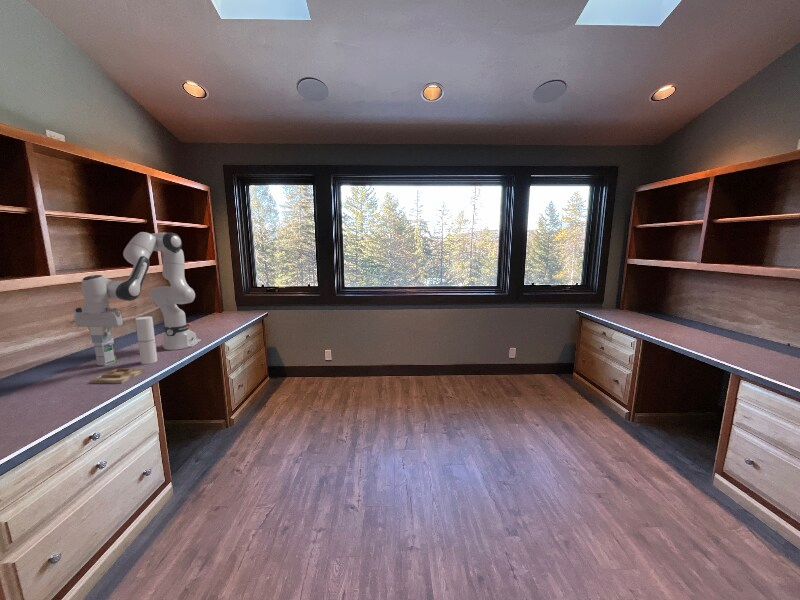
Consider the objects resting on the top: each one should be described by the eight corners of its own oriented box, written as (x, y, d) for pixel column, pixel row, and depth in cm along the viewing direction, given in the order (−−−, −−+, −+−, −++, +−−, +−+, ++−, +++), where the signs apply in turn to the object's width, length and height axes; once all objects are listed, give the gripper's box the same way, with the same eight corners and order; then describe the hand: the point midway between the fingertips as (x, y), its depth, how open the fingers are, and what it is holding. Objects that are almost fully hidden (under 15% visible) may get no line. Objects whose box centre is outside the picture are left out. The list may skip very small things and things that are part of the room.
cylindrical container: (137, 364, 169) (131, 319, 165) (147, 359, 176) (142, 316, 172) (150, 364, 169) (145, 319, 165) (160, 359, 176) (155, 316, 172)
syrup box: (105, 366, 165) (101, 339, 163) (96, 365, 166) (93, 339, 164) (117, 362, 171) (113, 336, 169) (108, 361, 172) (105, 336, 170)
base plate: (116, 371, 158) (115, 366, 158) (144, 371, 159) (144, 366, 159) (90, 383, 145) (89, 377, 144) (121, 383, 145) (120, 377, 145)
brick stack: (101, 339, 159) (99, 324, 157) (111, 339, 159) (109, 324, 158) (92, 342, 154) (89, 327, 152) (102, 342, 154) (100, 327, 153)
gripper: (124, 307, 157) (127, 333, 159) (82, 306, 156) (86, 333, 159) (113, 309, 151) (117, 337, 153) (69, 309, 150) (74, 336, 152)
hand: (101, 335), depth 156 cm, fingers closed on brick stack, 5 cm apart
